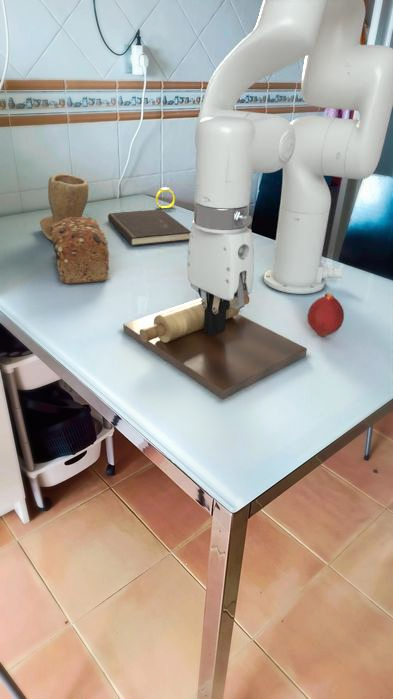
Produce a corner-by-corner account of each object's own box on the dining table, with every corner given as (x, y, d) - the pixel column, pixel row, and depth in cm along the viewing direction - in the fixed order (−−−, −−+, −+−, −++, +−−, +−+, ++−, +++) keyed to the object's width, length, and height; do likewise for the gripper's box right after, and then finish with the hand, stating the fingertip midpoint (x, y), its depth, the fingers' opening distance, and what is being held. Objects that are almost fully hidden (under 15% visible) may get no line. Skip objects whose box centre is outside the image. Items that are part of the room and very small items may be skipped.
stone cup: (96, 243, 118) (91, 180, 111) (47, 247, 114) (38, 182, 107) (85, 225, 130) (80, 168, 123) (40, 229, 126) (31, 170, 119)
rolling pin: (235, 305, 86) (237, 282, 84) (253, 314, 83) (255, 291, 81) (135, 342, 74) (134, 317, 71) (152, 354, 71) (151, 328, 69)
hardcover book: (161, 217, 140) (161, 209, 139) (191, 240, 122) (191, 231, 121) (108, 221, 135) (107, 213, 134) (131, 246, 117) (130, 237, 116)
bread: (111, 282, 97) (108, 234, 92) (57, 287, 95) (51, 237, 89) (99, 252, 113) (96, 209, 108) (53, 255, 110) (47, 211, 105)
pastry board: (203, 304, 90) (204, 296, 89) (305, 356, 75) (307, 348, 74) (123, 332, 80) (123, 324, 79) (222, 399, 64) (223, 390, 64)
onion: (314, 324, 84) (322, 282, 80) (345, 335, 81) (354, 292, 77) (298, 336, 80) (305, 292, 76) (329, 348, 77) (339, 303, 73)
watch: (173, 206, 152) (173, 186, 149) (175, 208, 149) (176, 188, 146) (155, 207, 150) (154, 187, 147) (157, 209, 148) (157, 189, 145)
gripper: (280, 223, 64) (265, 343, 73) (204, 201, 73) (200, 309, 82) (241, 233, 59) (230, 359, 69) (166, 208, 69) (166, 321, 78)
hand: (214, 331), depth 75 cm, fingers closed
